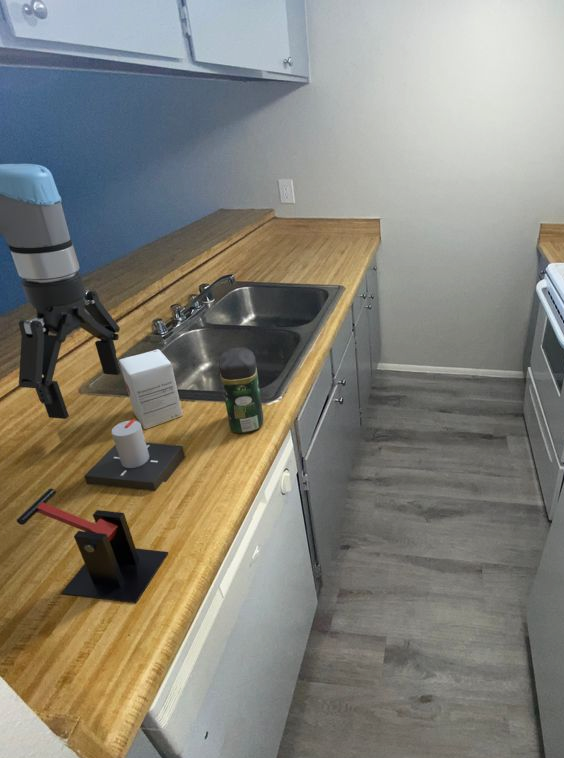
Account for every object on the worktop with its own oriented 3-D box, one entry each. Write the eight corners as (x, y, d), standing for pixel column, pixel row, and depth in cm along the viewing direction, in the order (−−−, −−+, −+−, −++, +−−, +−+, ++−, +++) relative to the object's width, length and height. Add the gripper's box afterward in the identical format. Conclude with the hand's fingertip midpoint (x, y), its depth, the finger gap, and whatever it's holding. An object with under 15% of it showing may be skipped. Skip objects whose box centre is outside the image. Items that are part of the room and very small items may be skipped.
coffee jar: (228, 413, 115) (217, 346, 107) (262, 408, 118) (254, 342, 109) (228, 437, 107) (216, 367, 99) (264, 431, 110) (256, 362, 101)
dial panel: (88, 487, 92) (83, 475, 91) (123, 450, 102) (119, 439, 101) (156, 494, 91) (153, 482, 90) (185, 456, 101) (182, 445, 100)
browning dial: (140, 469, 93) (130, 435, 89) (116, 467, 93) (105, 433, 89) (154, 452, 97) (145, 420, 93) (131, 450, 98) (121, 418, 94)
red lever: (15, 525, 67) (17, 515, 66) (47, 494, 73) (49, 484, 72) (96, 557, 69) (99, 548, 68) (122, 525, 74) (125, 516, 73)
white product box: (132, 412, 114) (117, 358, 107) (171, 399, 120) (159, 347, 113) (143, 430, 108) (128, 374, 101) (184, 416, 114) (172, 362, 107)
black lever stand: (62, 598, 72) (37, 544, 67) (102, 549, 80) (82, 497, 74) (137, 607, 71) (118, 553, 66) (169, 556, 79) (155, 505, 74)
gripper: (82, 250, 82) (111, 357, 92) (-50, 303, 60) (6, 437, 70) (124, 253, 82) (149, 360, 91) (7, 308, 60) (56, 441, 69)
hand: (87, 393), depth 81 cm, fingers open, 13 cm apart
